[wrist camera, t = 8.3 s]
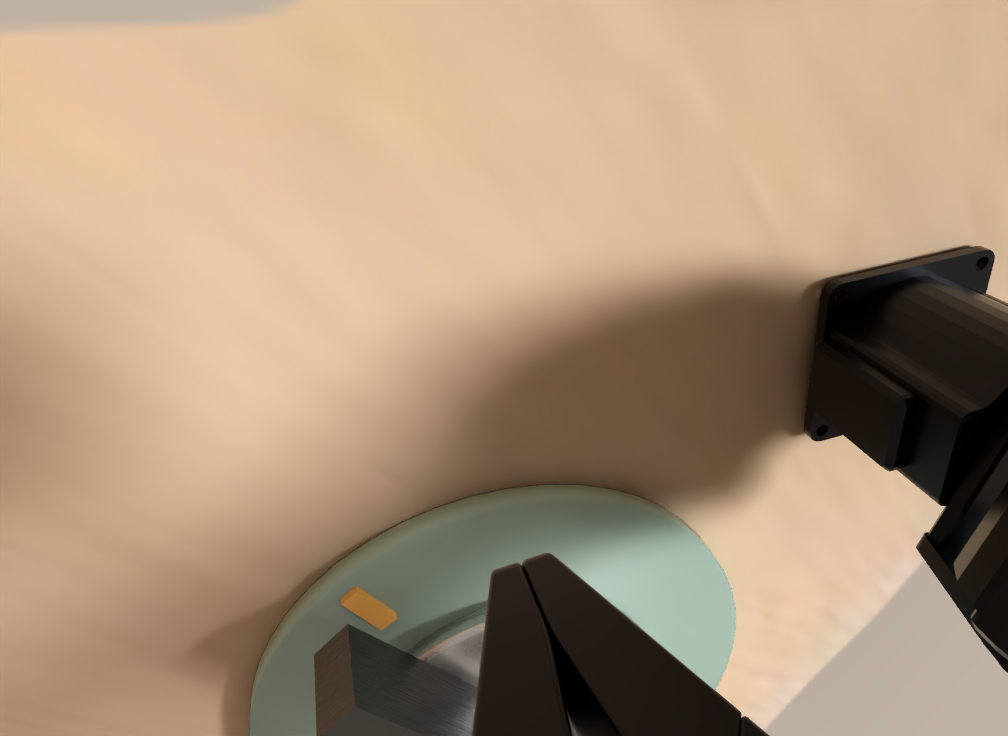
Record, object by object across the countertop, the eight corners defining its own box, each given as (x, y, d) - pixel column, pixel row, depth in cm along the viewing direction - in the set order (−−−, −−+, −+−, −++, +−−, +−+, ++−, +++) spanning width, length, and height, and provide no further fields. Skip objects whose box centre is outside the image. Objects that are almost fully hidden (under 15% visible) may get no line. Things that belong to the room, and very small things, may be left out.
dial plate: (735, 426, 26) (755, 446, 25) (714, 742, 36) (728, 766, 35) (170, 576, 22) (163, 606, 21) (323, 877, 33) (324, 908, 32)
